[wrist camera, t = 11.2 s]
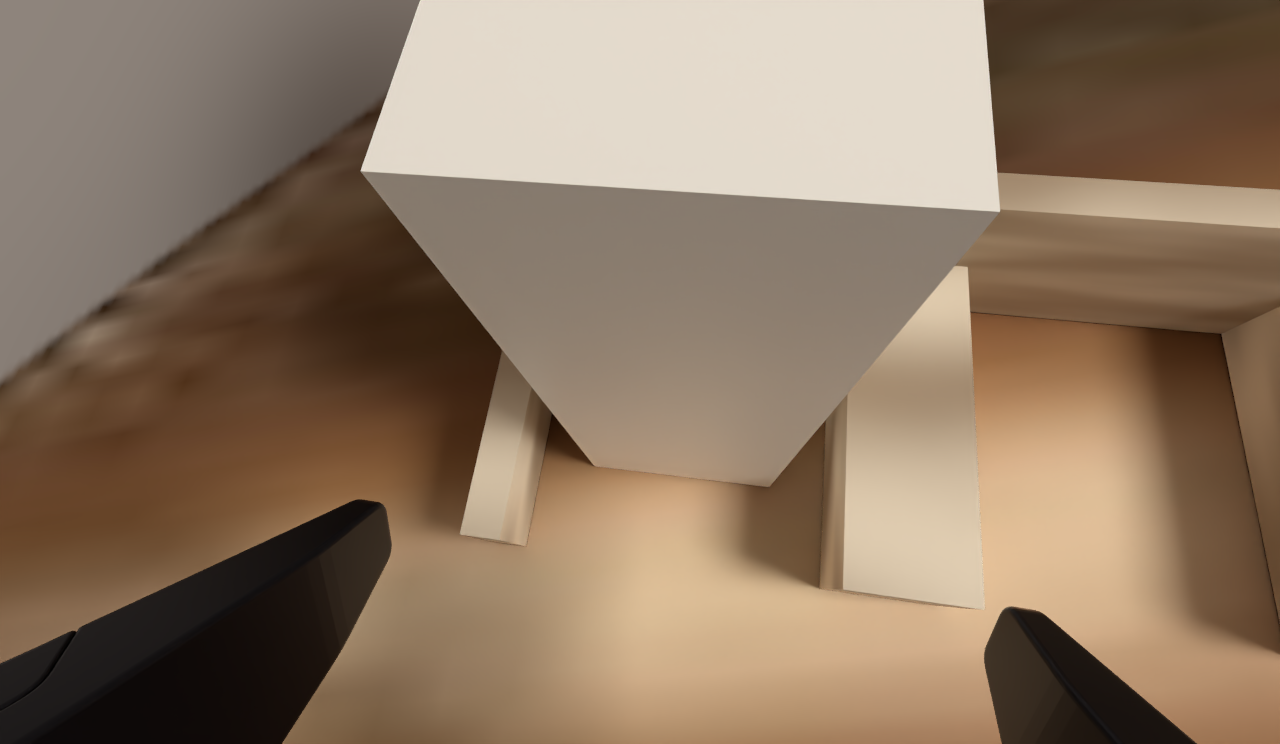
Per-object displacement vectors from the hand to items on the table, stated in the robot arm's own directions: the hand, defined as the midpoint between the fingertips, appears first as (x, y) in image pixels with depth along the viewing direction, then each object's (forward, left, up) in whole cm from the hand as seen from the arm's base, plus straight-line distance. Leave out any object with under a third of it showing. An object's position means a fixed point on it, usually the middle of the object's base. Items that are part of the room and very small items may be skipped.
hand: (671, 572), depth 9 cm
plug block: (+3, +4, -8) cm, 9 cm away
